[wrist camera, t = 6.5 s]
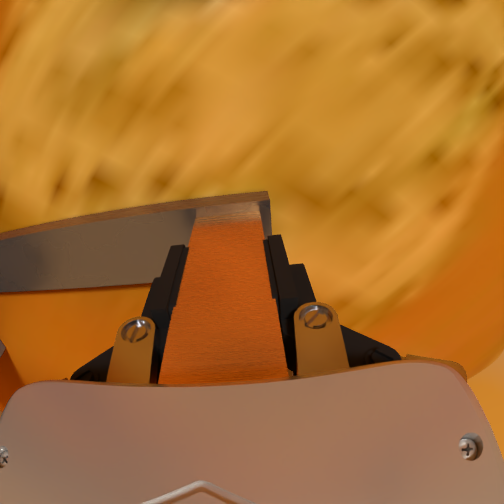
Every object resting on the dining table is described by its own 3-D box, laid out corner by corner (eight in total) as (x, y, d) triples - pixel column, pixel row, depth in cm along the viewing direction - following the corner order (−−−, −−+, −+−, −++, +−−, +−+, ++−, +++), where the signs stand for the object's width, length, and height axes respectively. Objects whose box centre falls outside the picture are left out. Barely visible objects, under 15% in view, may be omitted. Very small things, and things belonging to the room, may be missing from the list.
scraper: (267, 191, 15) (321, 399, 5) (271, 259, 17) (307, 460, 7) (-40, 243, 15) (-118, 336, 5) (-21, 284, 17) (-86, 381, 7)
